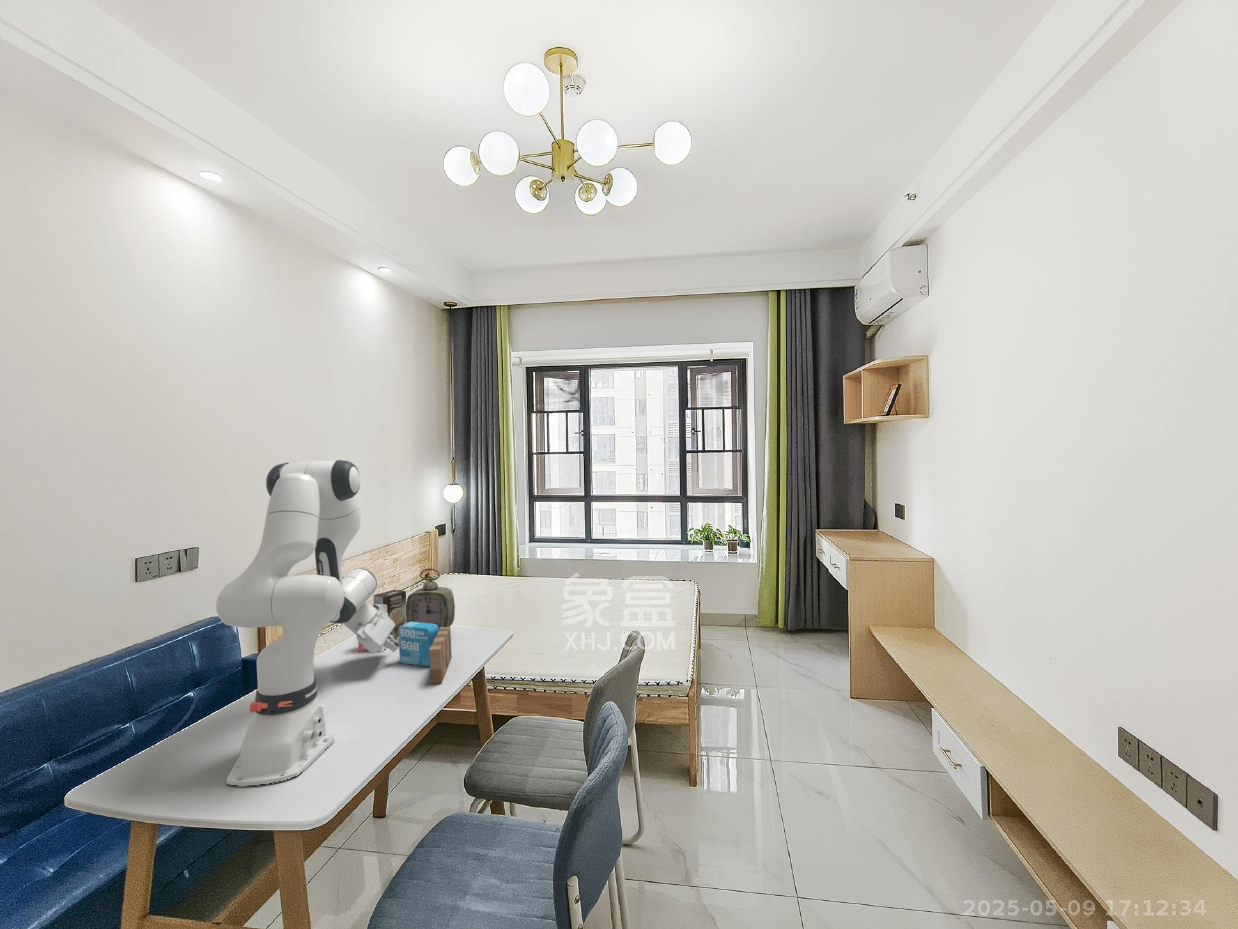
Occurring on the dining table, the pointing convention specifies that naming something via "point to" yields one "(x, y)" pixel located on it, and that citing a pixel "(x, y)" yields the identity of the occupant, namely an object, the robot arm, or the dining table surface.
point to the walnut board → (440, 655)
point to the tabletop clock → (431, 604)
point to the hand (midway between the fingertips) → (396, 648)
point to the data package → (416, 642)
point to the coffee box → (394, 607)
